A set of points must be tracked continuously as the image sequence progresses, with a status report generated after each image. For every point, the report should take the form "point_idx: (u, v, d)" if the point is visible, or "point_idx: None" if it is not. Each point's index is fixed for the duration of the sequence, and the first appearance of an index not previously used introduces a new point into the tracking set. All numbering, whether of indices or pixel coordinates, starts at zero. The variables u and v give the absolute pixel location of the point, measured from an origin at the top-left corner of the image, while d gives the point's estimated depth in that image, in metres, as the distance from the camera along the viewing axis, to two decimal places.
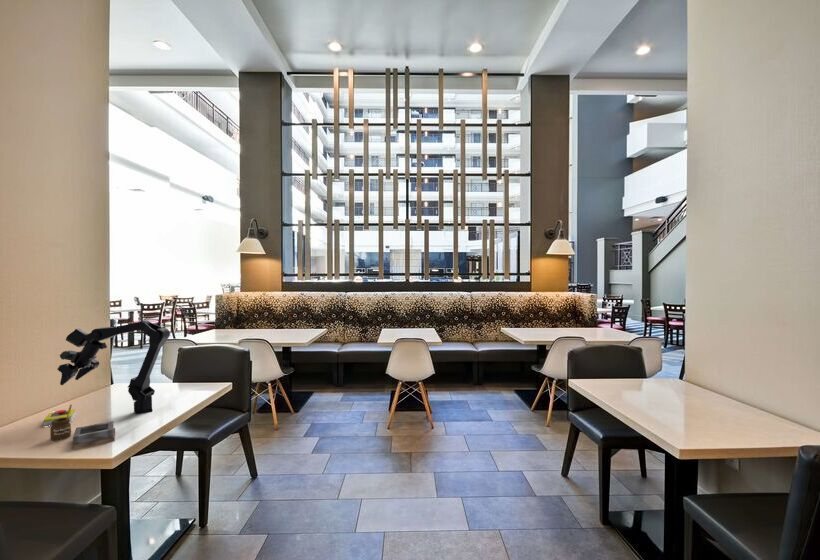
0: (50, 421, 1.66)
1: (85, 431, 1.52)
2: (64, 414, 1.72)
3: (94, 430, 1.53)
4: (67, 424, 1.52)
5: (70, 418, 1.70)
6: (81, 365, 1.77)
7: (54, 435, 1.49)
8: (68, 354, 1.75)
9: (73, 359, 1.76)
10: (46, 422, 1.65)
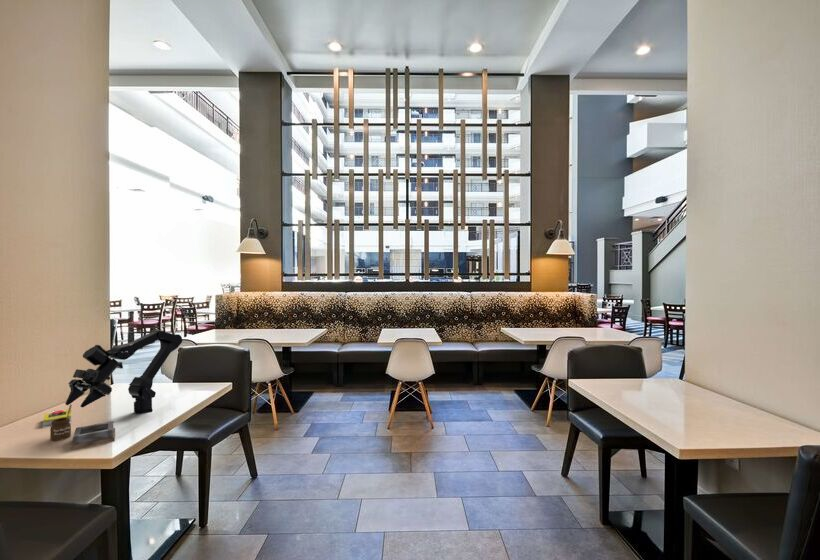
0: (50, 421, 1.65)
1: (85, 431, 1.52)
2: (62, 414, 1.71)
3: (94, 430, 1.53)
4: (67, 424, 1.52)
5: (70, 418, 1.70)
6: None
7: (54, 435, 1.49)
8: None
9: (95, 378, 1.61)
10: (46, 422, 1.65)
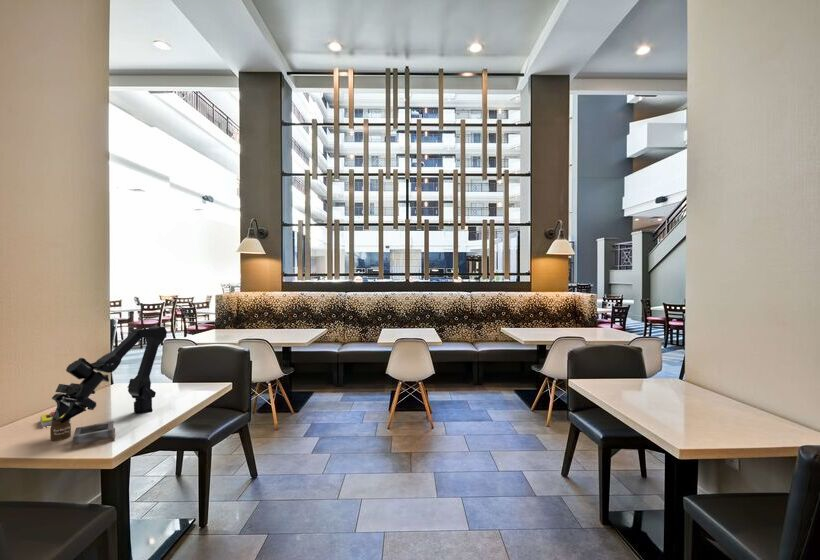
0: (50, 422, 1.65)
1: (85, 431, 1.52)
2: None
3: (94, 430, 1.53)
4: (67, 424, 1.52)
5: None
6: None
7: (54, 435, 1.49)
8: None
9: (79, 393, 1.56)
10: (46, 423, 1.64)
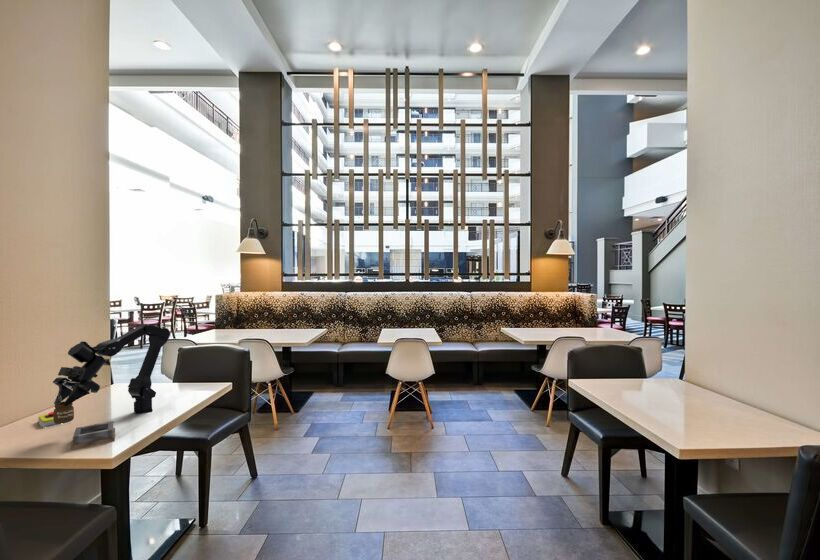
0: (50, 422, 1.65)
1: (85, 431, 1.52)
2: None
3: (94, 430, 1.53)
4: (70, 407, 1.52)
5: None
6: None
7: (57, 418, 1.49)
8: None
9: (82, 376, 1.55)
10: (46, 423, 1.64)
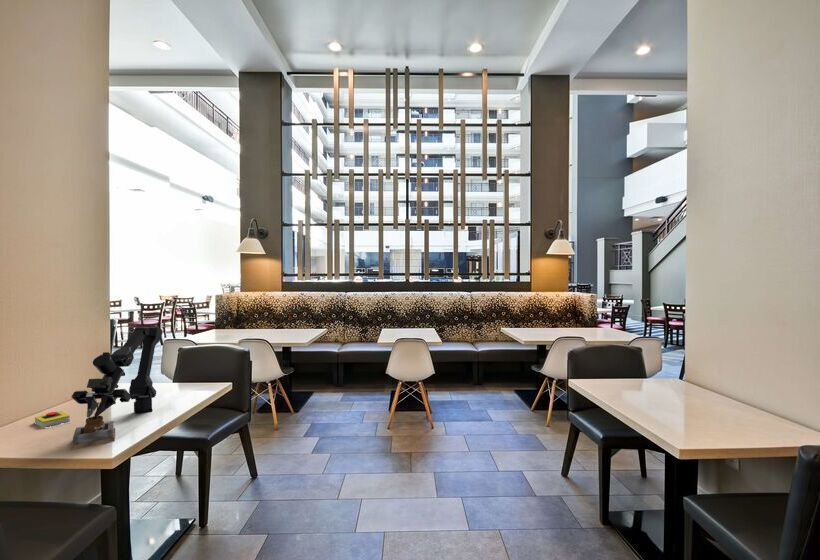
0: (50, 422, 1.65)
1: None
2: (58, 415, 1.70)
3: None
4: (103, 421, 1.51)
5: (69, 418, 1.70)
6: None
7: None
8: None
9: (110, 386, 1.55)
10: (46, 423, 1.64)
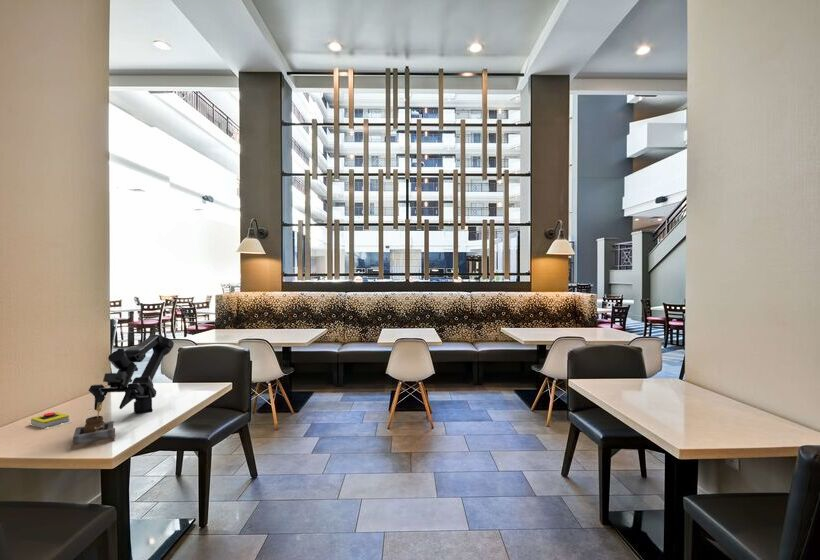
0: (50, 422, 1.64)
1: None
2: (56, 416, 1.70)
3: None
4: (103, 421, 1.52)
5: (68, 417, 1.70)
6: None
7: None
8: None
9: (124, 381, 1.64)
10: (46, 424, 1.63)
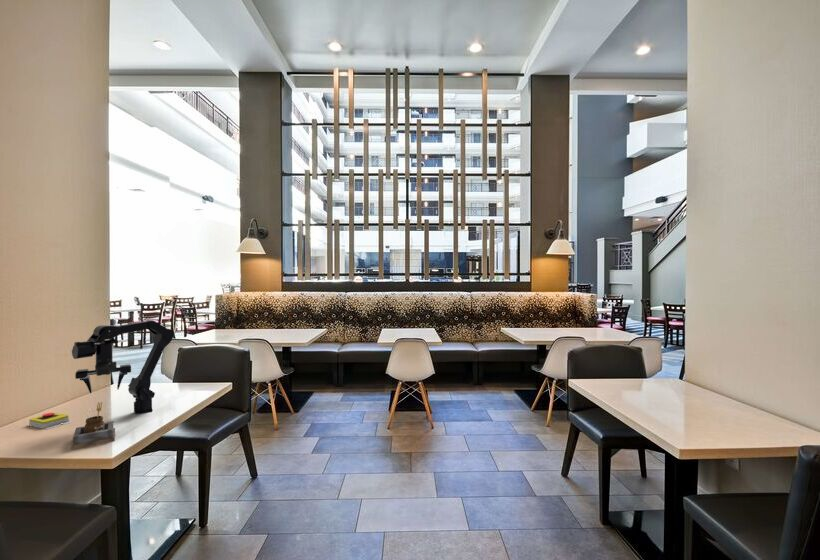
0: (50, 422, 1.64)
1: None
2: (55, 416, 1.69)
3: None
4: (103, 421, 1.52)
5: (68, 417, 1.70)
6: None
7: None
8: None
9: None
10: (47, 424, 1.63)
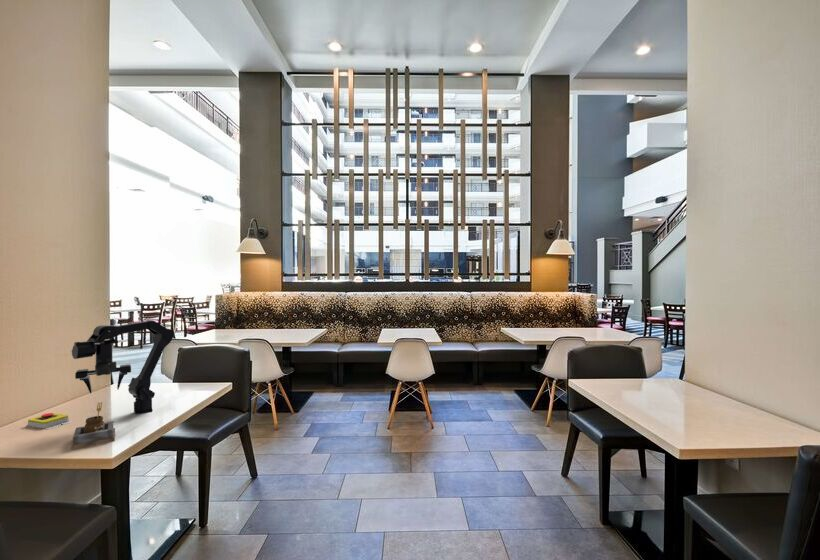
0: (51, 422, 1.64)
1: None
2: (55, 416, 1.69)
3: None
4: (103, 421, 1.52)
5: None
6: None
7: None
8: None
9: None
10: (47, 424, 1.63)
